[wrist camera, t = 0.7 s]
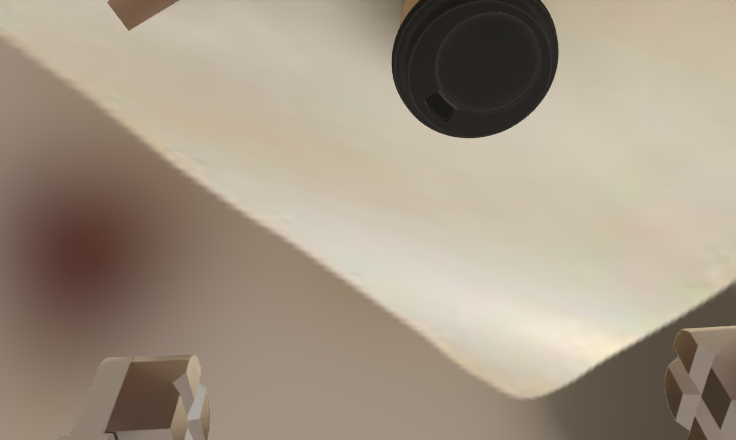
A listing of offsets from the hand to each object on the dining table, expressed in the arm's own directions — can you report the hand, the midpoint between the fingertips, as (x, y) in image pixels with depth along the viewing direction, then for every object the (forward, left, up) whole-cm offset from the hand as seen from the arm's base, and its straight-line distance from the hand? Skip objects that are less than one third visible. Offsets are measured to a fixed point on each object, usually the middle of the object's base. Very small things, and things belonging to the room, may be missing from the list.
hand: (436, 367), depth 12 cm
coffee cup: (+4, +6, -42) cm, 43 cm away
